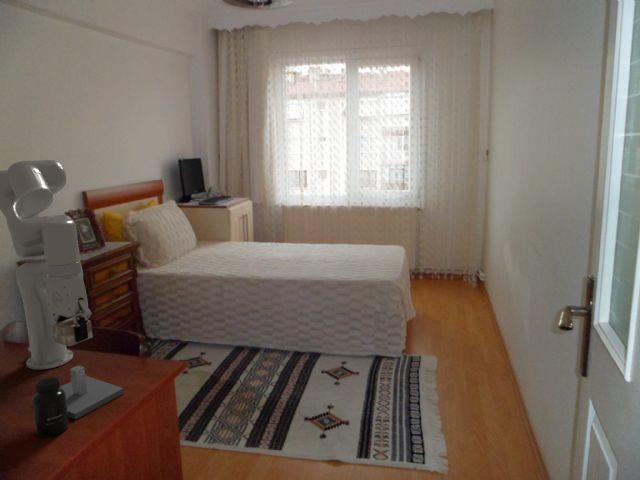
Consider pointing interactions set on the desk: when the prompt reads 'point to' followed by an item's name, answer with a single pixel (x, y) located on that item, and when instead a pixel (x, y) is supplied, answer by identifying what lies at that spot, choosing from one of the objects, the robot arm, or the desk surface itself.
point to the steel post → (78, 380)
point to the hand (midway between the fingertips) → (73, 337)
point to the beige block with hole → (68, 332)
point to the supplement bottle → (50, 408)
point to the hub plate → (90, 397)
